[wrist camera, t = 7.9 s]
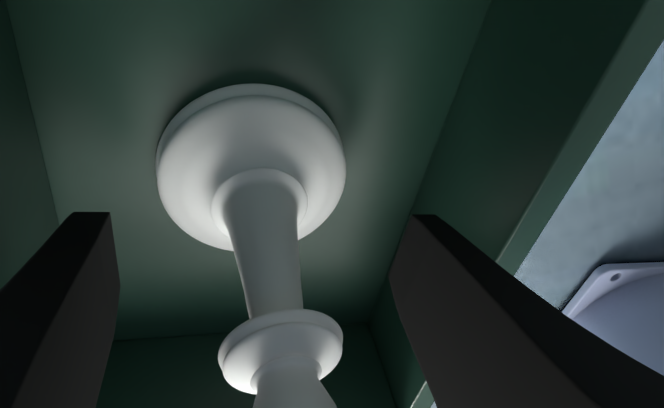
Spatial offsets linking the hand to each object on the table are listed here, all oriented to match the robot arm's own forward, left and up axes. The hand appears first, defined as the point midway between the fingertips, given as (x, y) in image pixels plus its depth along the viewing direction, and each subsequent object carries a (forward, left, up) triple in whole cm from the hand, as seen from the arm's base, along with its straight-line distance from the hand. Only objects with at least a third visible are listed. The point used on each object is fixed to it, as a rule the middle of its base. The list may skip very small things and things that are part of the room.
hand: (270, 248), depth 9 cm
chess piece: (0, 0, -3) cm, 3 cm away
